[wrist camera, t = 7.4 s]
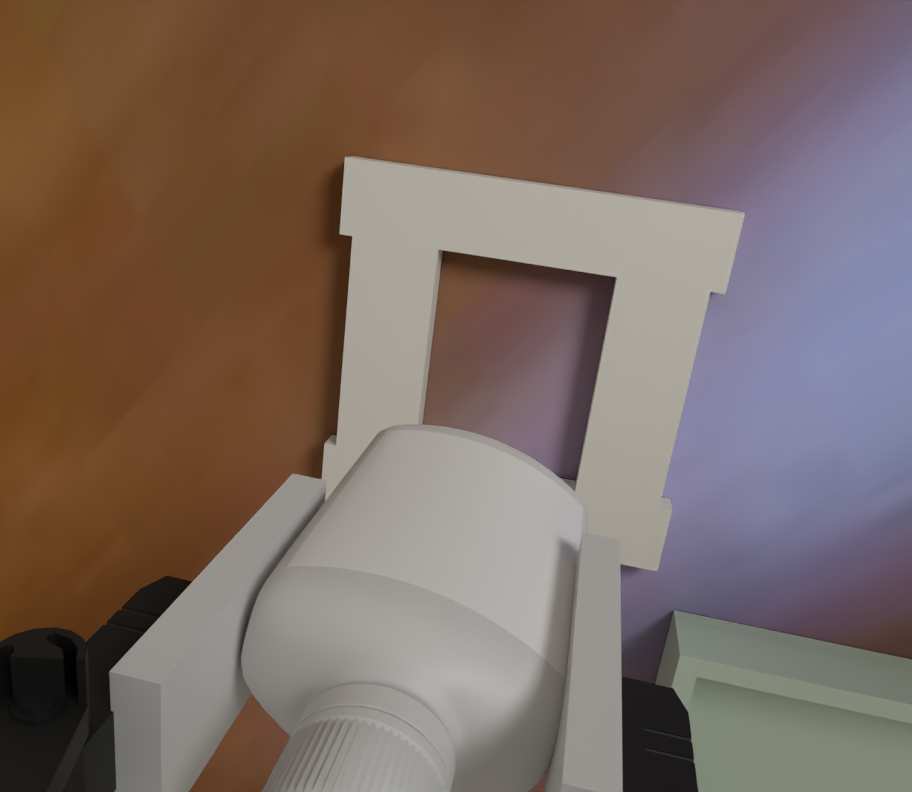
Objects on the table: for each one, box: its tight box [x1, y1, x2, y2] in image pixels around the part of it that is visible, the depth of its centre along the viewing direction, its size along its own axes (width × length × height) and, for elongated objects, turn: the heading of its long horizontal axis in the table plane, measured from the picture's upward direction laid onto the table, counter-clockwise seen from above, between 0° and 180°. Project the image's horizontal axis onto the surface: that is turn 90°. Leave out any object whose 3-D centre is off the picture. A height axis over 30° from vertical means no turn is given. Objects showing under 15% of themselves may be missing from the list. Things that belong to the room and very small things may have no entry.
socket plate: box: [322, 156, 745, 571], centre depth 30 cm, size 14×14×1 cm
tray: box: [655, 610, 912, 792], centre depth 32 cm, size 12×16×3 cm
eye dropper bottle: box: [241, 424, 588, 792], centre depth 14 cm, size 4×6×12 cm
